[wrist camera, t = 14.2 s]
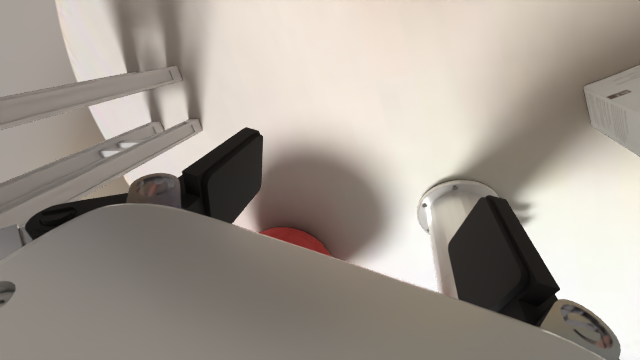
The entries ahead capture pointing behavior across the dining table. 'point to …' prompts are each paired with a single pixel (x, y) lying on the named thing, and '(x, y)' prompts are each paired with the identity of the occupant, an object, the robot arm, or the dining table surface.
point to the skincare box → (617, 107)
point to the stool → (91, 163)
